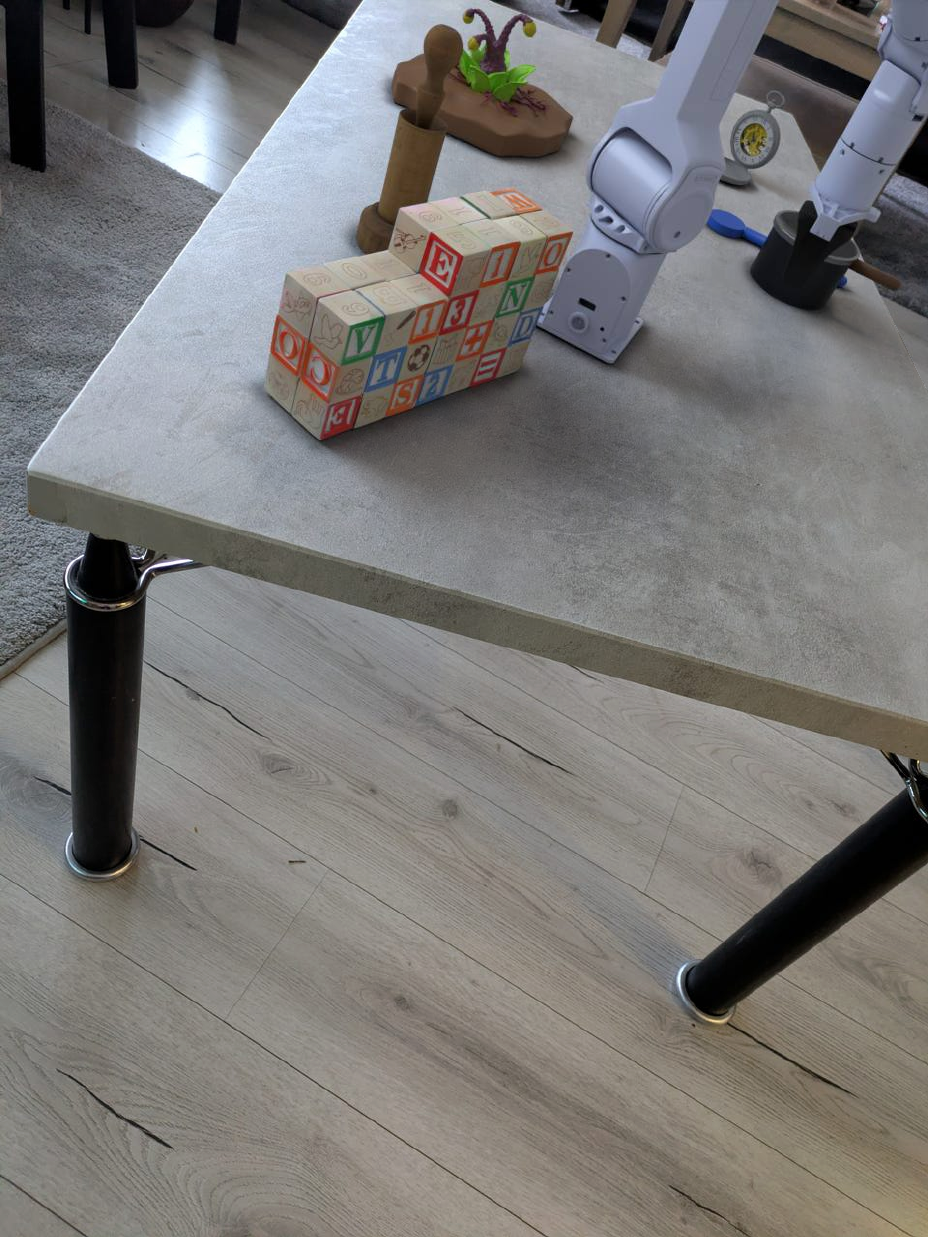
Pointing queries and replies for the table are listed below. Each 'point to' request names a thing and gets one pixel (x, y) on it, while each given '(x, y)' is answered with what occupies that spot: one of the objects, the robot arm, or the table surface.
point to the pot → (823, 280)
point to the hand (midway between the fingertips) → (791, 281)
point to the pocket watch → (756, 130)
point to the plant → (491, 96)
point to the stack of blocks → (415, 311)
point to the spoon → (739, 230)
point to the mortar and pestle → (413, 144)
